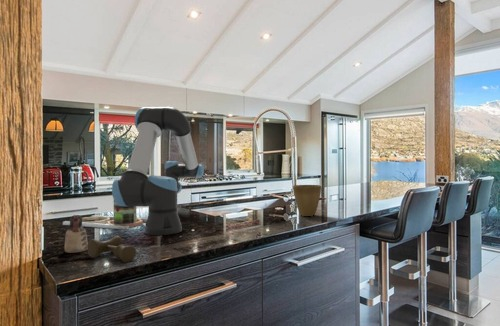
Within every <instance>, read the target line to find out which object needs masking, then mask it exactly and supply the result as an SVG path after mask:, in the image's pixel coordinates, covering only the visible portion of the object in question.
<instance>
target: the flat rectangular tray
mask: <svg viewBox="0 0 500 326" xmlns="http://www.w3.org/2000/svg"><path fill="white" fill-rule="evenodd" d="M136 219H141V220H142V221H143V223H146V222H147V219H148V217H147V218H143V217H136ZM112 220H114V215H96V214H93V215H91V216H85V217H82V227H83V228H84V227H86V228H99V229H111V230H112V229H113V230H130V227H129V226H127V225H113V224H107V222H108V221H112ZM62 226H70V220H65V221H62Z"/></svg>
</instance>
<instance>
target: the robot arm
mask: <svg viewBox="0 0 500 326" xmlns="http://www.w3.org/2000/svg"><path fill="white" fill-rule="evenodd" d="M134 119H135V120H134V125H135V128H136V130H137V132H138V134H137V136H136V137H137V138H136V141H135V144H134V148H133V151H132V153H131V157H130V160H129V163H128V166H127V169H126V170H124V171H123V172H122V174H121V176H120V178H116V179H114V180H113V181H112V187H111V195H112V198H113V202H114V201H115V203H116V204H117V205H119V206H126V207H128V206H136V207H142V208H143V207H147V208H148V217H147V218H148V219H147V222H145V226H144V233H145V234H146V235H150V236H166V235H167V236H168V235H173V234H174V235H175V234H179V233H180V232H182V231H183V230H182V229H183V226H182V223H181V219H180V216H179V214H178V194H179V193H180V192H181V191H182V189H183V187H182V184H181V182H180V181H179V178H195V179H196V178H202V177H203V176H204V174H205V173H204V172H205V170H204V169H205V168H204V165H203V164H201V163H199V162H198V161H199V160H198V157H197V154H196V150H195V145H194V141H193V139H192V135H191V132H192V127H191V124H190V122H189V119H188V118H187V116H185V114H184V113H183V112H182V111H180V110H179V109H177V108H176V107H172V106H158V107H157V106H151V107H150V106H147V107H140V108H138V110H137V111H136V113H135V116H134ZM166 131H167V132H168V131H170V132H171V133H172V134H173V136H174V137H175V138H176V142H177V146H178V148H179V150H180V154H181V158H182V162H183V163H181V164H180V163H179V161H177V160H173V161H172V160H171V161H170V160H169V161H168V160H167V161H166V162H165V165H164V166H165V168H164V175H165V176H163V175H148V172H149V168H150V164H151V161H152V157H153V155H154V154H153V153H154V150H155V146H156V142H157V139H158V138H159V137H161V136H162V133H163V132H166Z"/></svg>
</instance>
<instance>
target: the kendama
mask: <svg viewBox="0 0 500 326" xmlns="http://www.w3.org/2000/svg"><path fill="white" fill-rule="evenodd" d="M104 252H112V253H113V256H114V257H115V259H118V260H119V259H120V260H121V261H122V263H125V264H126V263H129V262H133V260H134V259H135V258H136V256H137V249H136V247H135V246H133V245H127V244H123V239H122V237H121V236H119V235H114V236H113V237H112V238H110V239H108V240H105V241H101V240H97V239H94V238H91V239H89V241H88V249H87V253H88V255H89V257H90V258H91V259H96V258H97V257H98V256H100V255H101V254H103V253H104Z"/></svg>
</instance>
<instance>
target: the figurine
mask: <svg viewBox="0 0 500 326" xmlns="http://www.w3.org/2000/svg"><path fill="white" fill-rule="evenodd" d="M82 218H83V217H82V216H81V215H79V214H74V215H71V216H70V218H69V220H68V221H70V225H69V228H68V229H67V231H65V236H64V252H65V253H70V254H71V253H72V254H74V253H81V252H86V251H88V242H89V241H88V236H87V230H86V229H85V228H84V226H82V222H83V221H82Z"/></svg>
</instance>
